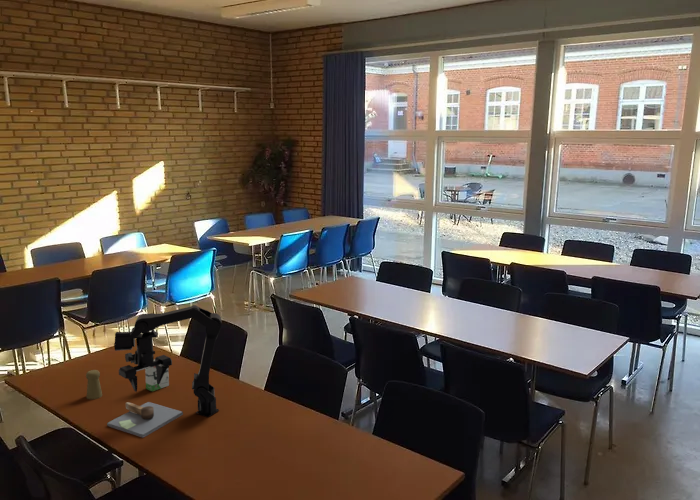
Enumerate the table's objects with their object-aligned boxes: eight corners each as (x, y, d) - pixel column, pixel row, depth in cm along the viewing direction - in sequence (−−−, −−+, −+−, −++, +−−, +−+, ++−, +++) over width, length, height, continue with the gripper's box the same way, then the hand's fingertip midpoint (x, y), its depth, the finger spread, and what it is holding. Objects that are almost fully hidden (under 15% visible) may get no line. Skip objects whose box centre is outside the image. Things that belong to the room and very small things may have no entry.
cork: (105, 393, 238) (103, 368, 236) (97, 399, 232) (95, 374, 230) (91, 392, 238) (89, 367, 236) (83, 398, 232) (81, 373, 230)
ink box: (152, 392, 240) (150, 365, 238) (145, 388, 243) (144, 362, 241) (169, 385, 247) (168, 359, 244) (163, 382, 250) (161, 356, 247)
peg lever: (156, 415, 216) (156, 408, 215) (146, 420, 212) (146, 412, 211) (131, 406, 223) (131, 398, 222) (122, 410, 219) (121, 403, 219)
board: (182, 414, 221) (182, 411, 220) (143, 437, 203) (142, 434, 203) (148, 404, 228) (148, 401, 228) (107, 426, 211) (107, 422, 210)
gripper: (156, 337, 225) (158, 374, 227) (110, 349, 211) (113, 389, 214) (171, 344, 217) (173, 382, 220) (125, 357, 204) (127, 398, 206)
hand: (147, 387), depth 215 cm, fingers open, 9 cm apart
